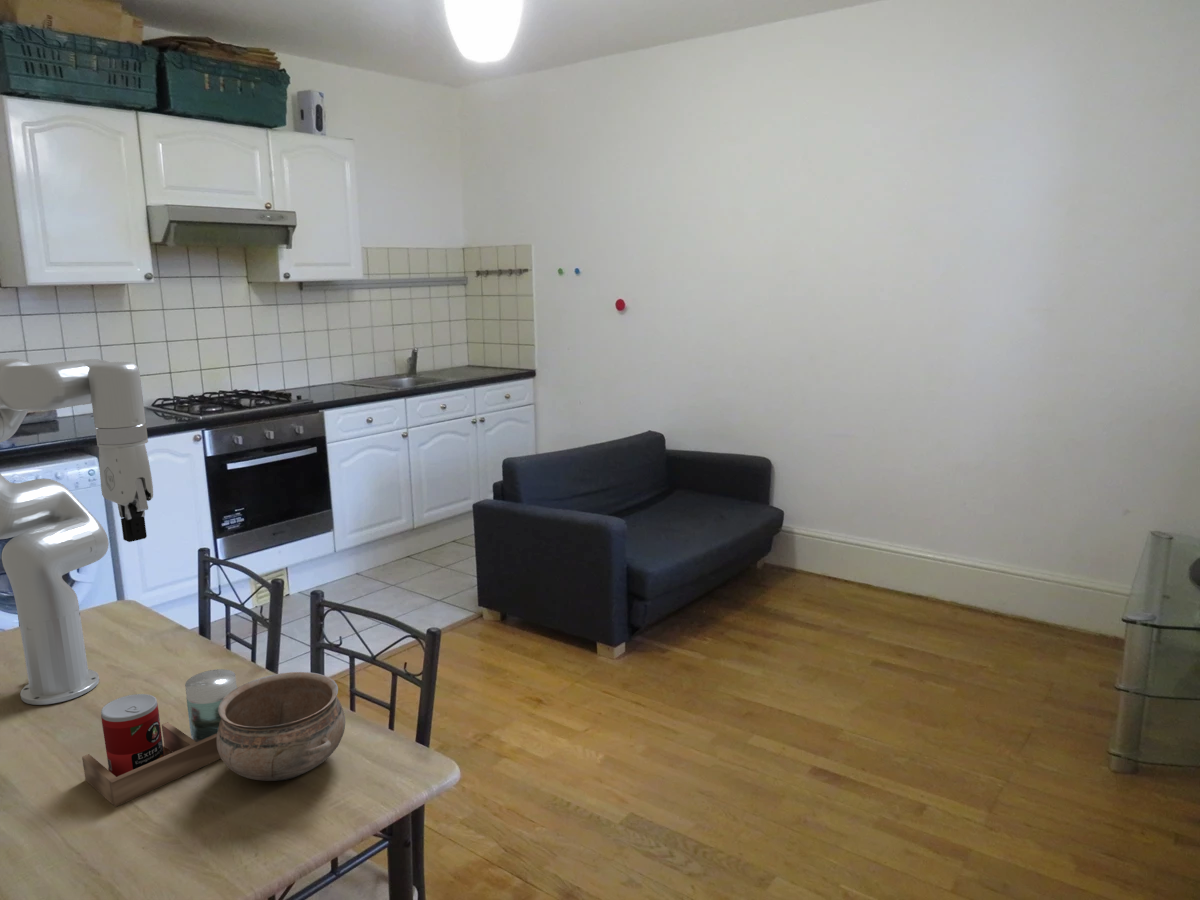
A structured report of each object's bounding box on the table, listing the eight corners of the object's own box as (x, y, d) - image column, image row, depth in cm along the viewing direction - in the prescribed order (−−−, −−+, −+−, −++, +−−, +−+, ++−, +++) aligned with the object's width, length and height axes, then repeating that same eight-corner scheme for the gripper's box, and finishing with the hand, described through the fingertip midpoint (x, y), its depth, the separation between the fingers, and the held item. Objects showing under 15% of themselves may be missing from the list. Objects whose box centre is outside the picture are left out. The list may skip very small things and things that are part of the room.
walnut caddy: (85, 780, 130) (81, 756, 129) (238, 714, 149) (236, 694, 148) (115, 806, 123) (111, 782, 122) (272, 734, 142) (269, 713, 141)
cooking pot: (191, 764, 134) (183, 694, 131) (301, 718, 147) (295, 654, 145) (267, 831, 117) (259, 752, 115) (382, 772, 131) (377, 701, 129)
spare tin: (183, 742, 140) (176, 681, 138) (227, 723, 146) (221, 665, 144) (206, 757, 136) (198, 695, 133) (250, 737, 141) (244, 677, 139)
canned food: (142, 785, 128) (133, 720, 126) (97, 780, 130) (87, 715, 128) (176, 757, 136) (168, 695, 133) (133, 753, 137) (124, 691, 135)
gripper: (80, 434, 143) (94, 536, 147) (117, 444, 134) (131, 553, 137) (126, 427, 149) (138, 526, 152) (165, 437, 139) (177, 542, 143)
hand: (135, 539), depth 145 cm, fingers closed
